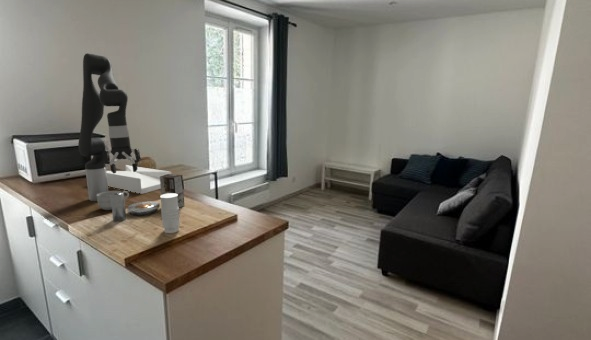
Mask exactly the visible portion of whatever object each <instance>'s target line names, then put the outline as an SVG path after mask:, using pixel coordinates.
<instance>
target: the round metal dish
mask: <svg viewBox="0 0 591 340" xmlns="http://www.w3.org/2000/svg"><path fill="white" fill-rule="evenodd" d="M160 207H161V206H160V202H158V201H150V200H149V201H147V200H146V201H140V202H134V203H131V204H129V205H128V206H127V208H126V209H127V212H129V213H130V215H131V216H134V217H145V216H151V215H153V214H156V213H157V212H159V211H158V209H159V208H160Z"/></svg>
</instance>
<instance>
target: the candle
mask: <svg viewBox="0 0 591 340" xmlns="http://www.w3.org/2000/svg"><path fill="white" fill-rule="evenodd" d="M177 196H178V194H176V193H168V194H163V195H161V194H160V196H159V198H160V204H161V206H160V207H161V208H160V214H161V215H160V216H161V220H162V222H161V223H162V228H163V232H164V233H165V234H173V233H174V234H175V233H177V232H179V231H180V225H181V224H180V223H181V221H180V217H181V213H180V208H179V207H178V199H177Z"/></svg>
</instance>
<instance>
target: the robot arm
mask: <svg viewBox="0 0 591 340" xmlns="http://www.w3.org/2000/svg"><path fill="white" fill-rule="evenodd" d="M113 71H114V70H113V67H112V62H111V61H110V59H109V58H108V57H106V56H102V55H98V54H95V53H94V54H93V53H85V54H84V55H83V59H82V76H83V77H82V78H83V79H82V81H83V87H82V88H83V89H82V100H81V101H82V102H81V121H80V123H81V124H80V131H79V138H78V147H77V148H78V151H79V154H80V155H81V156H83V157H92V158H91V159H90V160H89V161H87V162H86V163H85V164H84V168H85V169H84V170H85V176H86V183H87V185H86V186H87V193H88V199H89V201H90V202H98V201H97V196H96V195H97V194H99V193H103V192H108V191H109V187H108V182H107V174H106V171H107V167H106V165H109V167H110V171H111V172H113V173H116V171H117V168H116V162H117V161H118V160H126V159H127V160H128V161H130V162H131V163H132V164H131V166H133V172H136V170H137V169H138V168H137V167H138V163H139V162H141V161H142V159H141V158H142V157H141V154H140V149H139V148H133V149H132V146H131V141H130V134H129V129H128V124H127V117H126V115H127V105H128V98H129V97H128V96H129V95H128V93H127V92H126V91H125V90H123V89H119V85H118V84H117V82H116V80H115V77H114V72H113ZM92 75H93V76H94V75H96V76H98V79H97V85H98V87H99V91H98V89H97V88H96V86H95V83H94V81H93V76H92ZM105 107H118V109H117V110H115V111H111V112H108V113H107V115H106V117H107V124H108V136H109V142H110V147H111V150H109V149H107V148H106V143H105V141H104V139H102V138H101V137H93V133H94V130H95V129H96V127H97V125H98V124H100V122H101V120H102V119H103V115H104V111H105V110H104V109H105ZM132 153H133V154H134V156H135V158H134V156H133V155H132ZM111 154H112V158H111V160H110V156H111Z"/></svg>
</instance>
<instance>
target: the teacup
mask: <svg viewBox="0 0 591 340" xmlns="http://www.w3.org/2000/svg"><path fill="white" fill-rule="evenodd" d="M116 192H123V193H124V194H126V196H124V201H125V202H126V200H127V199H128V198H129V196H130V193H129V191H125V190H108V192H103V193H99V194H97V195H96V196H97V201H96V202H97V204H98V207H99V208H100V209H102V210H104V211H110V210H111V211H112V206H111V198H110V194H112V193H116Z"/></svg>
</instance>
